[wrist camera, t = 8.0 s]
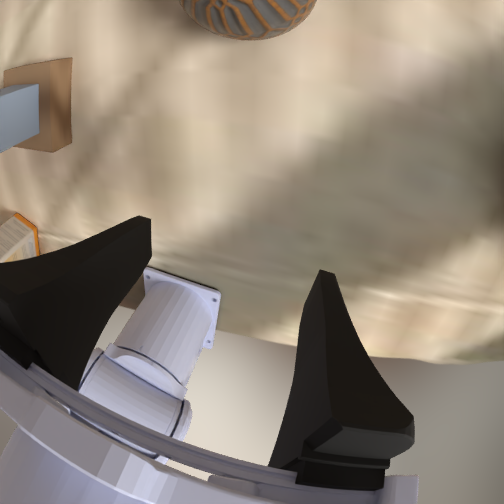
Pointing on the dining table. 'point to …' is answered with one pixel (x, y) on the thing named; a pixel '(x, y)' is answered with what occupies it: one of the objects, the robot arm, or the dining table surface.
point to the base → (47, 102)
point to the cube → (18, 114)
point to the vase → (248, 16)
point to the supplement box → (18, 239)
